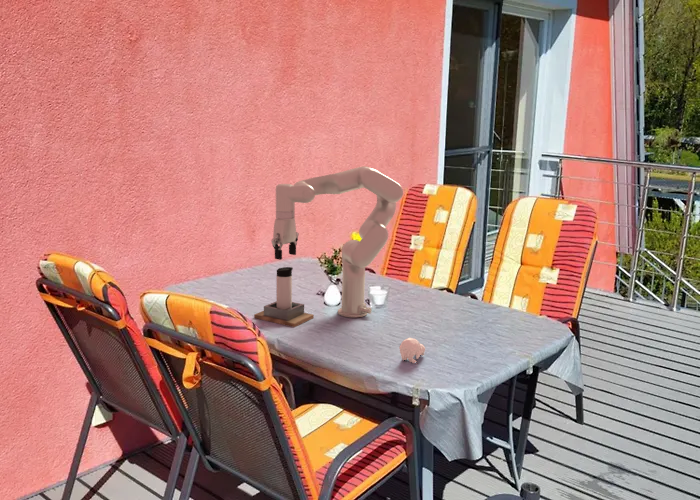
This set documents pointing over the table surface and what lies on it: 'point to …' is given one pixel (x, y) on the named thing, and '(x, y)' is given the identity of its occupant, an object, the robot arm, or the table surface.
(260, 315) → the walnut stand
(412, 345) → the pink animal figurine
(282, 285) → the travel mug
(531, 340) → the table surface
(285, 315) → the gray square tray
